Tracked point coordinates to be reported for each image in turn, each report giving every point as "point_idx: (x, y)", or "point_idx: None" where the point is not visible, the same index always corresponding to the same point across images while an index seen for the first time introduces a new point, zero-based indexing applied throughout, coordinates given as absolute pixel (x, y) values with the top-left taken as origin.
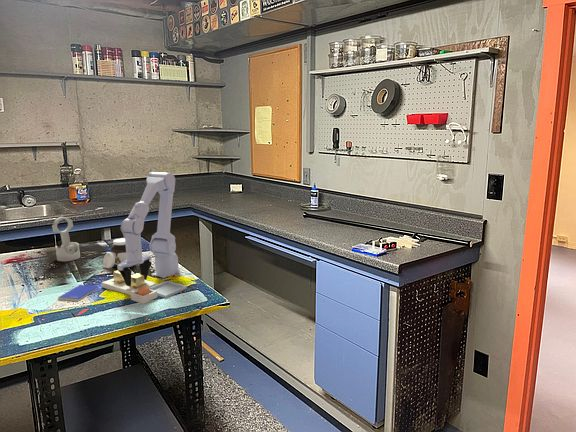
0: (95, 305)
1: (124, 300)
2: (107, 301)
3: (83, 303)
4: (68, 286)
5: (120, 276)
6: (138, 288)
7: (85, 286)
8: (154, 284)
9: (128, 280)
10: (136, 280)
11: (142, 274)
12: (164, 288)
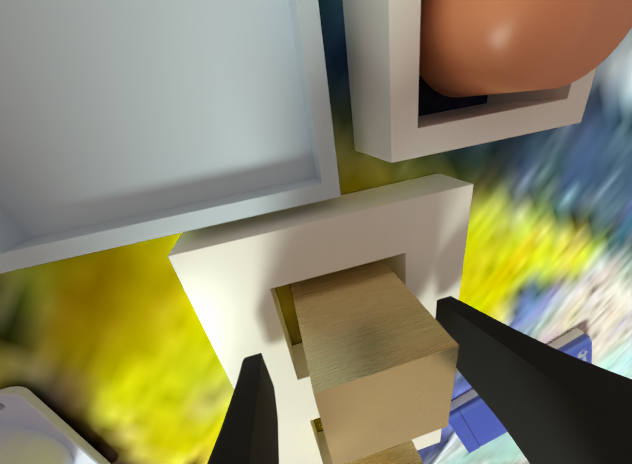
0: (609, 229)
1: (507, 173)
2: (550, 237)
3: (596, 290)
4: (476, 456)
5: (417, 459)
6: (601, 54)
7: (473, 434)
8: (201, 246)
9: (522, 337)
10: (428, 320)
11: (273, 438)
12: (115, 119)
